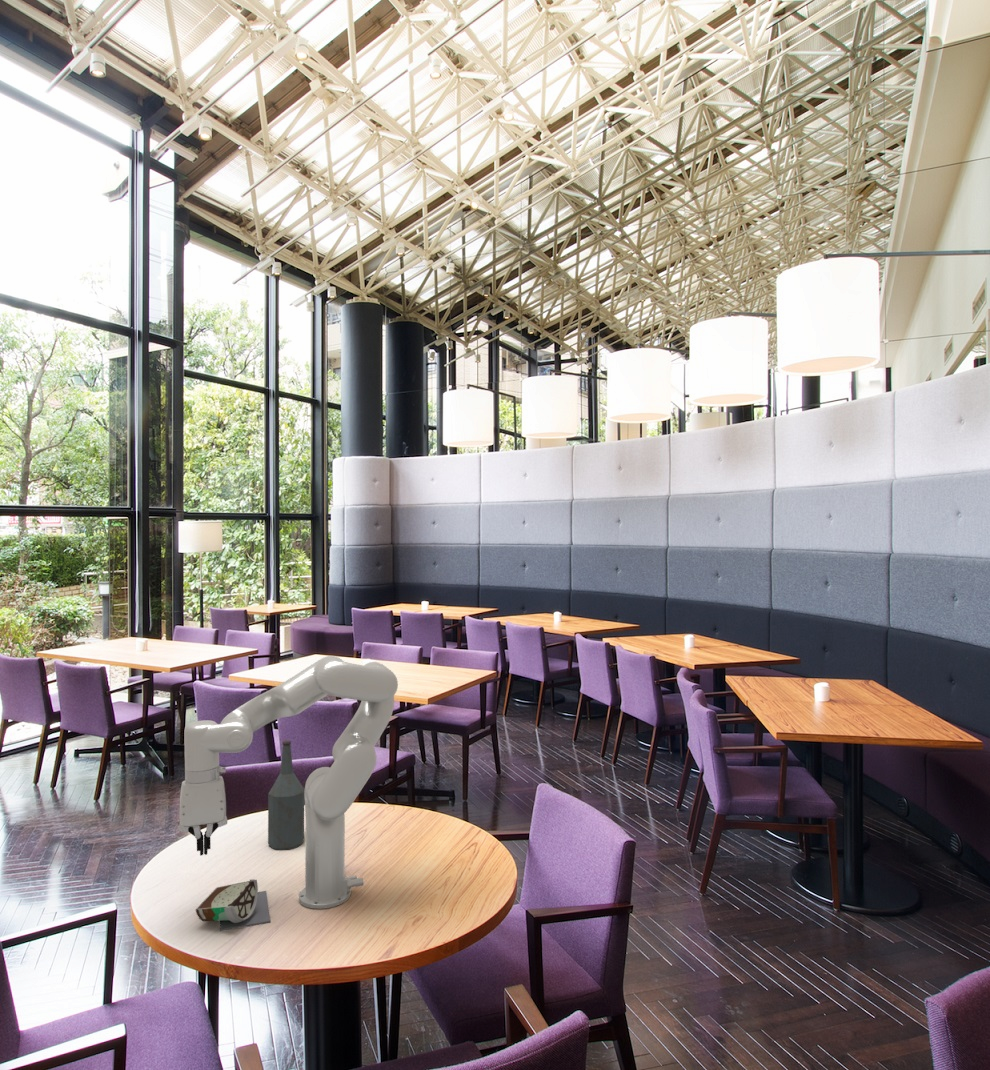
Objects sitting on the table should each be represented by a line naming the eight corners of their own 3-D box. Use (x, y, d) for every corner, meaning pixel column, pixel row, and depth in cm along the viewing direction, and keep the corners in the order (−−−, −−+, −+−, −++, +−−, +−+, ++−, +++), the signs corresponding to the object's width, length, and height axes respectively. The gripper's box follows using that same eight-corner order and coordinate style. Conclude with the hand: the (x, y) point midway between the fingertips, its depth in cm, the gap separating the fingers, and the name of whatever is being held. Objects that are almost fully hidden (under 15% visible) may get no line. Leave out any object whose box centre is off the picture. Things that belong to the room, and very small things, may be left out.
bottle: (262, 842, 216) (263, 740, 217) (293, 834, 223) (293, 734, 223) (278, 853, 208) (279, 747, 209) (309, 844, 215) (310, 741, 215)
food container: (198, 939, 166) (238, 933, 164) (191, 913, 165) (232, 907, 164) (225, 908, 178) (263, 902, 176) (219, 884, 178) (257, 878, 176)
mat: (266, 892, 185) (266, 890, 185) (270, 922, 170) (270, 920, 170) (219, 899, 181) (219, 898, 181) (219, 931, 166) (219, 929, 166)
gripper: (235, 766, 179) (237, 841, 179) (168, 774, 173) (170, 852, 173) (236, 775, 172) (237, 853, 171) (166, 783, 166) (168, 865, 166)
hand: (203, 852), depth 172 cm, fingers closed
